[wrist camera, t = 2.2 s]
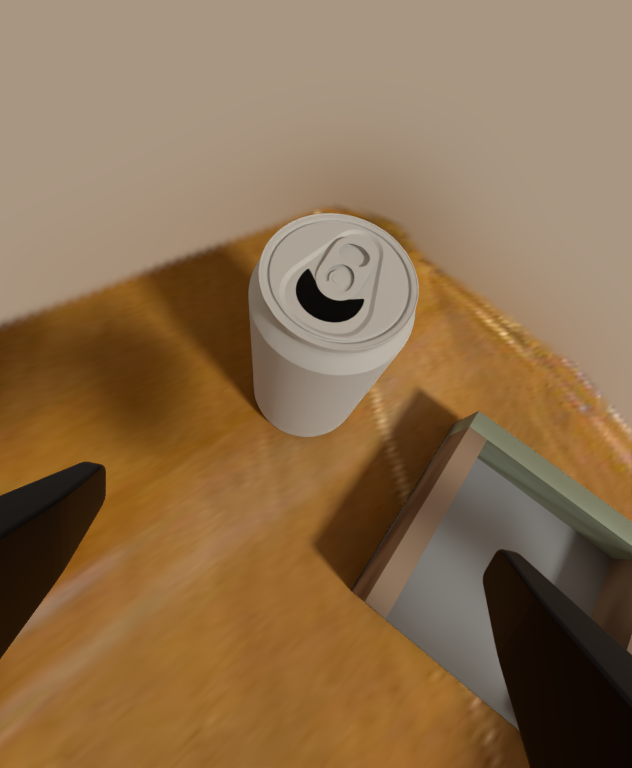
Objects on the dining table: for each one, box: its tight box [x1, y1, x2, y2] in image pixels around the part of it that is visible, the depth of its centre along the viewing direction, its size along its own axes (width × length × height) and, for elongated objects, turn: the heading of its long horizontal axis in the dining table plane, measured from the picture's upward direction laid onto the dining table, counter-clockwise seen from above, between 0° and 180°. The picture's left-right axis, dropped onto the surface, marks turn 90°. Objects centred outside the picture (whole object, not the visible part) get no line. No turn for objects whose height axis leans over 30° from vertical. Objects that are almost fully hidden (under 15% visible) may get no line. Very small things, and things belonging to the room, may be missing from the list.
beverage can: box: [248, 213, 419, 437], centre depth 18 cm, size 6×6×12 cm
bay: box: [351, 411, 632, 730], centre depth 20 cm, size 12×13×3 cm
